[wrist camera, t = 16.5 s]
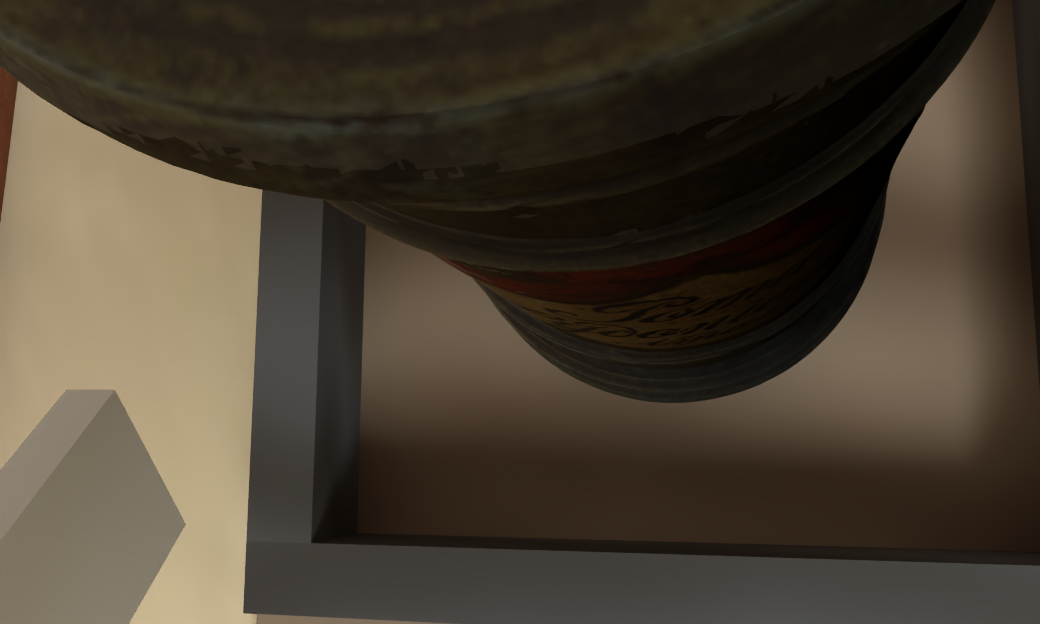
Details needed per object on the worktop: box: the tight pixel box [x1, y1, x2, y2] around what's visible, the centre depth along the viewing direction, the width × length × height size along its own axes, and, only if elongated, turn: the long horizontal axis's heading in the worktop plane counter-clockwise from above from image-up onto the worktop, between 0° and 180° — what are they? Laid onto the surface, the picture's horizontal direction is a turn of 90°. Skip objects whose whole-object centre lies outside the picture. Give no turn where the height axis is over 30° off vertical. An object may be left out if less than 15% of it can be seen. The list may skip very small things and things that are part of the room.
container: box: [0, 0, 996, 403], centre depth 13 cm, size 9×9×18 cm
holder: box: [243, 0, 1040, 624], centre depth 21 cm, size 26×20×4 cm
